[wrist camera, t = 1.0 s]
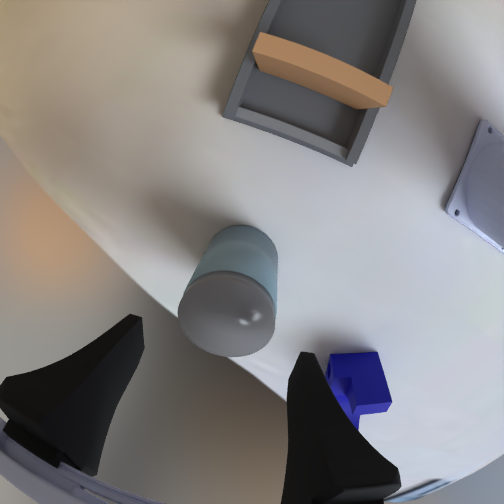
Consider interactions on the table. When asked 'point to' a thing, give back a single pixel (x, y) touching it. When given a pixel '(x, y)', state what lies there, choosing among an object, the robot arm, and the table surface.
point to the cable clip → (358, 384)
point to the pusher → (319, 72)
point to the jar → (232, 294)
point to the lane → (332, 44)
